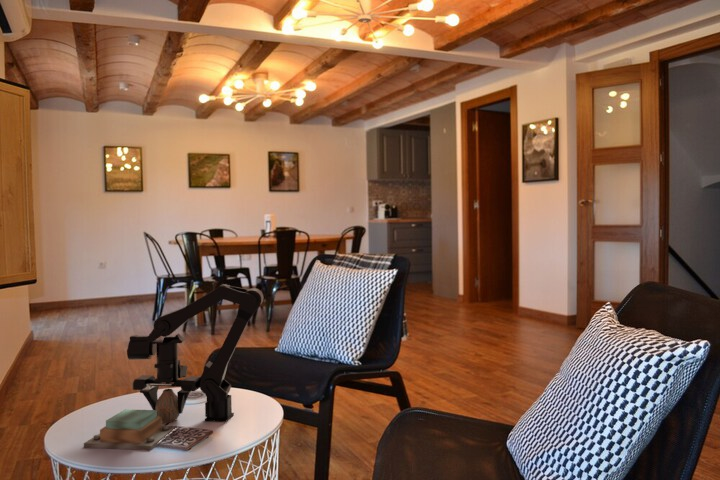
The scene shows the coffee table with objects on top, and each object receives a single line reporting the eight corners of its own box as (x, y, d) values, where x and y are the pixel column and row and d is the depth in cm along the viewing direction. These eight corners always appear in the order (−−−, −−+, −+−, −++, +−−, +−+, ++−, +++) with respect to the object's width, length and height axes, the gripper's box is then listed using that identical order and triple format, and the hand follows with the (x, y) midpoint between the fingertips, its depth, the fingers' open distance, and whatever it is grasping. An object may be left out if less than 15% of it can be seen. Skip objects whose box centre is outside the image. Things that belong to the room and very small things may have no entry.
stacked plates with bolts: (177, 429, 152) (176, 407, 152) (151, 449, 138) (150, 425, 138) (115, 427, 154) (114, 405, 154) (83, 447, 140) (83, 423, 140)
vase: (185, 416, 163) (184, 386, 163) (174, 424, 156) (174, 393, 156) (162, 416, 163) (161, 386, 163) (151, 424, 157) (150, 393, 156)
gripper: (209, 352, 166) (210, 405, 166) (150, 351, 168) (151, 403, 169) (193, 361, 155) (194, 417, 155) (130, 360, 157) (131, 415, 158)
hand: (168, 413), depth 160 cm, fingers open, 7 cm apart
